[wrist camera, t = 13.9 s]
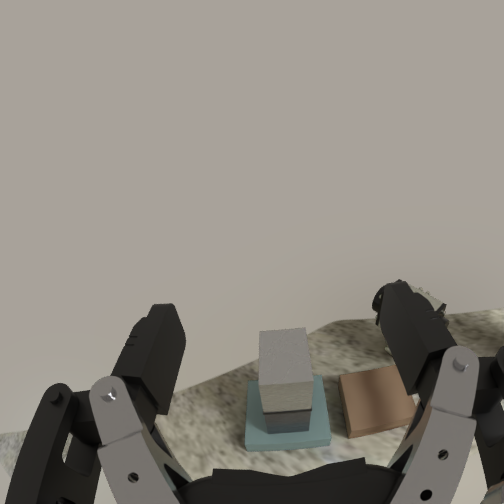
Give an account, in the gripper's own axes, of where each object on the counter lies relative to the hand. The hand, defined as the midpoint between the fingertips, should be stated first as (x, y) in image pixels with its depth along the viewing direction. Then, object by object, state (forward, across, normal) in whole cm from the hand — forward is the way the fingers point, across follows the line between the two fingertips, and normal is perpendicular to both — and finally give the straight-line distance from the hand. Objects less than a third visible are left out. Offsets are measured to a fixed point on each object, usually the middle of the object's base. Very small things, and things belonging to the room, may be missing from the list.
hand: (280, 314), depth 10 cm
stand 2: (+10, -12, +27) cm, 31 cm away
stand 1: (+10, 0, +27) cm, 29 cm away
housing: (+10, 0, +25) cm, 27 cm away
